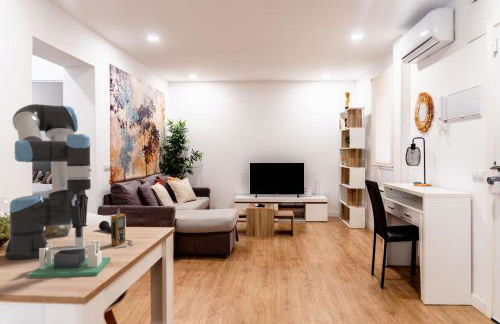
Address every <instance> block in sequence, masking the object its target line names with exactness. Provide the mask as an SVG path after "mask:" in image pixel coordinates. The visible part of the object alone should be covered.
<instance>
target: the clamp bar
mask: <svg viewBox="0 0 500 324" xmlns="http://www.w3.org/2000/svg"><path fill="white" fill-rule="evenodd" d="M72 249H85V250H86V249H88V244H85V245H84V246H77V247H75V245H67V246H52V247H50V246H46V247H45V252H47V251H52V252H59V251H60V250H72Z"/></svg>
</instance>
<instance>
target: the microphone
mask: <svg viewBox="0 0 500 324" xmlns="http://www.w3.org/2000/svg"><path fill="white" fill-rule="evenodd" d="M98 229H99V230H100V231H105V232H107V233H110V234H111V225H110V223H109V221H108V220H102V221H100V222H99V224H98Z"/></svg>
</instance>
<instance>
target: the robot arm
mask: <svg viewBox="0 0 500 324" xmlns="http://www.w3.org/2000/svg"><path fill="white" fill-rule="evenodd" d="M12 126H13V128H14V130H16V131H17V135H18V140H16V141H15V142H14V159H15V162H16V161H17V162H19V163H20V162H21V163H41V162H42V163H44V162H45V163H46V162H49V163H50V171H51V184H52V185H51V186H52V190H51V191H50V192H49V193H48V197H45V195H44V194H32V195H31V194H30V195H25V196H20V197H17V198H14V199H12V200H11V201H10V203H9V238H8V241H7V245H6V247H5V250H4V259H7V260H12V261H13V260H17V261H18V260H28V259H35V258H39V249H40V248H45V247H46V245H47V244H49V243H48V241H47V239H46V238H45V235H44V230H45V227H47V226H59V225H70V224H71V228H72V229H74V241H75V242H74V243H75V244H74V246H75V247H77V246H84V245H86V242H85V227H88V224H87V217H88V203H89V202H88V201H89V196H87V194H86V191H88V190H91V187H92V185H91V184H92V183H91V179H90V177H91V172H92V171H93V169H92V168H91V141H90V136H89V135H88V134H84V133H83V134H81V133H80V134H79V133H77V131H78V127H79V124H78V116H77V113H76V110H75V109H74V108H73V107H72V106H66V105H54V104H53V105H49V104H36V103H35V104H32V103H31V104H28V105H26V106H23V107H21V108H19V109H18V110H16V112H15V113H14V114H13V116H12ZM41 132H44V135H45V137H46V138H47V139H48V140H43V136H42V133H41ZM45 256H46V252H45Z"/></svg>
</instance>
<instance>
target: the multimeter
mask: <svg viewBox="0 0 500 324" xmlns="http://www.w3.org/2000/svg"><path fill="white" fill-rule="evenodd" d="M120 200H121V201H122V205H123V207H122V213H120V209H121V208H120V207H118V208H117V212H116V214H115V215H111V216H110V220H111V223H110V226H111V233H110V236H111V237H110V238H111V246H112V248H113V249H120V248H126V247H130V246H135V245H134V244H133V243H132V240H128V239H126V214H125V210H124V209H125V205H124V204H125V203H124V200H123V199H121V198H118V200H115V202H116V204H117V205H119V204H120ZM113 203H114V201H112V202H111V204H110V208H112V206H113ZM125 242H127V244H128V245H122V246H119V245H121V244H124V243H125ZM116 246H118V247H116Z"/></svg>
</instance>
